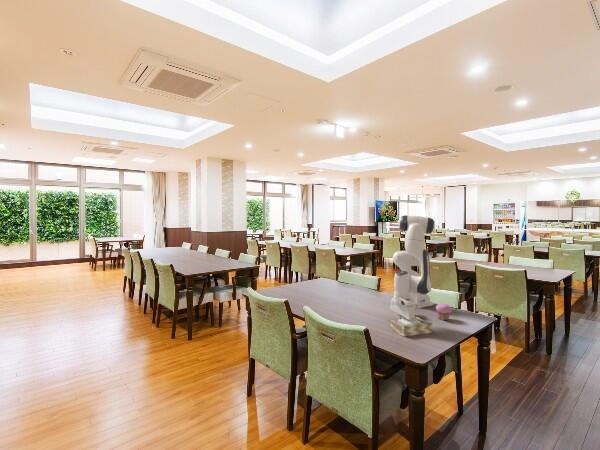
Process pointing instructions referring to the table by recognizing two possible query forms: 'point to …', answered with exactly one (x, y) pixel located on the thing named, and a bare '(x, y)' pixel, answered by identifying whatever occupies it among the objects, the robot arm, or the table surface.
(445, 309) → the cupcake
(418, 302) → the robot arm
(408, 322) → the trolley
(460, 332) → the table surface
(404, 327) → the bay
